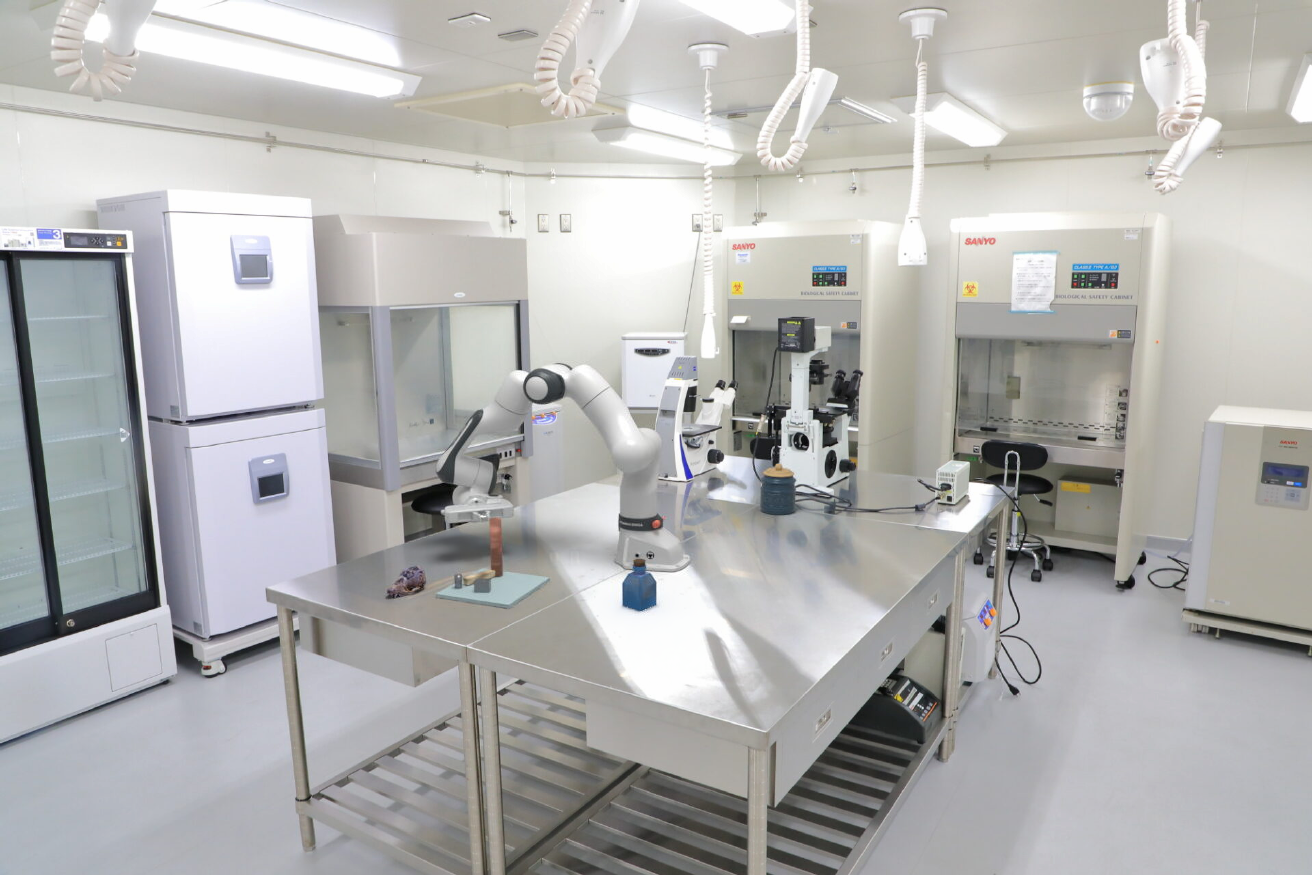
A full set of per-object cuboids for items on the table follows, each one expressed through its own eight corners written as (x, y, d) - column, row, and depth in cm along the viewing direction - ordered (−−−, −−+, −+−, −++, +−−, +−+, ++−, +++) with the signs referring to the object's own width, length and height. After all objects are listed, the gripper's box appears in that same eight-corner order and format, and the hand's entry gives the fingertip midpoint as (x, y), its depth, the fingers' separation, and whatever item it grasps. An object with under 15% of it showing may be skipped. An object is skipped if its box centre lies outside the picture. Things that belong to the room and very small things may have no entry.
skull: (395, 601, 221) (394, 579, 220) (377, 595, 225) (375, 573, 224) (432, 588, 230) (431, 567, 229) (414, 582, 235) (413, 561, 234)
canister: (752, 508, 314) (753, 461, 310) (782, 504, 319) (783, 458, 316) (772, 517, 302) (773, 468, 299) (802, 513, 307) (804, 465, 304)
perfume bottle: (638, 599, 222) (638, 555, 220) (656, 604, 218) (656, 560, 216) (622, 606, 218) (622, 561, 216) (640, 611, 214) (640, 566, 212)
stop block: (491, 589, 226) (490, 578, 226) (489, 592, 224) (489, 581, 224) (476, 589, 226) (475, 578, 226) (474, 592, 224) (473, 581, 224)
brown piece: (468, 585, 228) (466, 528, 225) (461, 583, 230) (459, 526, 227) (505, 574, 237) (503, 518, 235) (498, 571, 240) (496, 516, 237)
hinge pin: (464, 590, 228) (463, 574, 228) (459, 592, 227) (459, 576, 226) (457, 589, 229) (457, 573, 228) (453, 591, 227) (452, 575, 226)
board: (550, 580, 236) (549, 577, 236) (509, 608, 216) (509, 604, 215) (481, 571, 244) (481, 568, 243) (436, 597, 223) (435, 593, 223)
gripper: (439, 500, 254) (448, 511, 241) (506, 494, 262) (518, 505, 249) (439, 520, 255) (448, 533, 242) (507, 514, 263) (518, 526, 251)
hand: (484, 518), depth 246 cm, fingers closed
